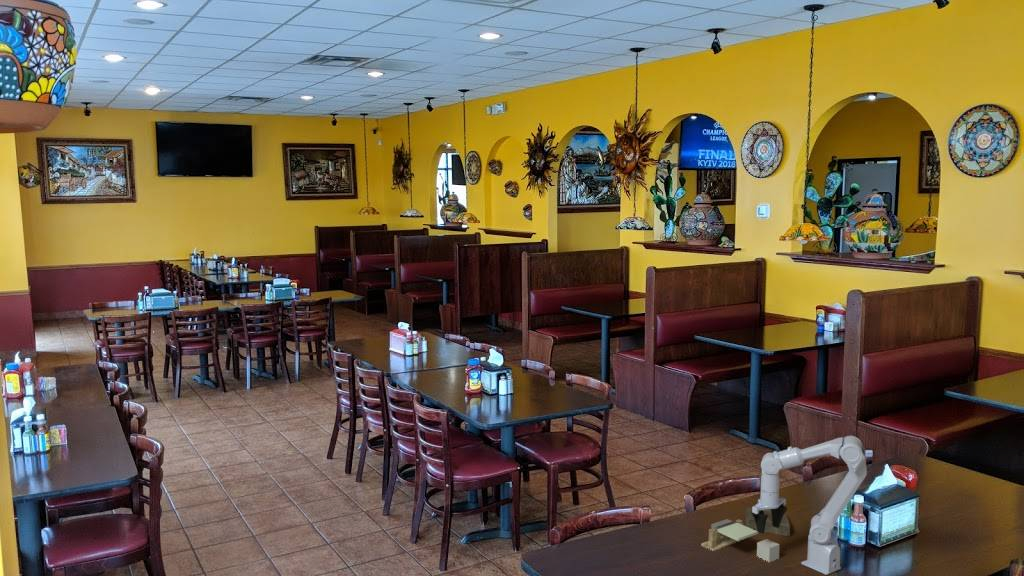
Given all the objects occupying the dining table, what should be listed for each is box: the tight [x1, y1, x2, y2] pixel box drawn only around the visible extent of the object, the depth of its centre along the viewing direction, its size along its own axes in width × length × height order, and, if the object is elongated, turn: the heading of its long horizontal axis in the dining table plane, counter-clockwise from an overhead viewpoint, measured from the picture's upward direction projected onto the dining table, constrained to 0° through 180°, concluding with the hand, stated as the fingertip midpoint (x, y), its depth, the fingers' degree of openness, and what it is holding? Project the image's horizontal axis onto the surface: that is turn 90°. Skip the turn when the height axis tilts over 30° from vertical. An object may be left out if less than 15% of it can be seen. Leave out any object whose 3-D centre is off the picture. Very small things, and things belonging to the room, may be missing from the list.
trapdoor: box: [710, 518, 759, 542], centre depth 269 cm, size 12×10×1 cm
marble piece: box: [744, 507, 791, 537], centre depth 288 cm, size 17×15×4 cm
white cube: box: [756, 538, 780, 563], centre depth 262 cm, size 5×5×5 cm
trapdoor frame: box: [700, 518, 744, 552], centre depth 273 cm, size 5×15×7 cm, turn 124°
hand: (768, 529), depth 262 cm, fingers open, 7 cm apart
